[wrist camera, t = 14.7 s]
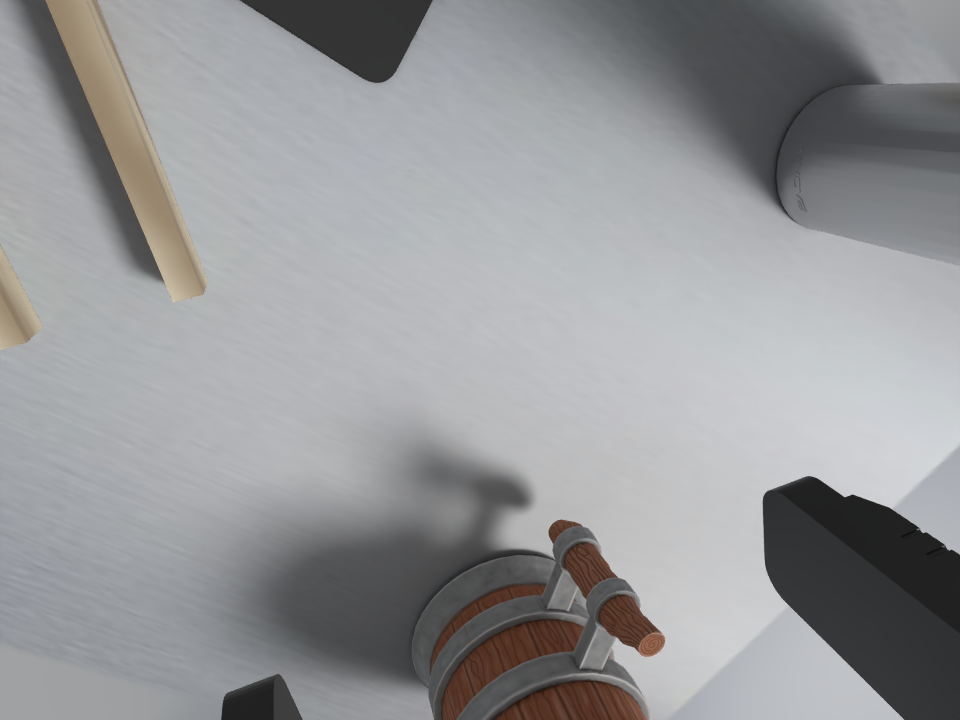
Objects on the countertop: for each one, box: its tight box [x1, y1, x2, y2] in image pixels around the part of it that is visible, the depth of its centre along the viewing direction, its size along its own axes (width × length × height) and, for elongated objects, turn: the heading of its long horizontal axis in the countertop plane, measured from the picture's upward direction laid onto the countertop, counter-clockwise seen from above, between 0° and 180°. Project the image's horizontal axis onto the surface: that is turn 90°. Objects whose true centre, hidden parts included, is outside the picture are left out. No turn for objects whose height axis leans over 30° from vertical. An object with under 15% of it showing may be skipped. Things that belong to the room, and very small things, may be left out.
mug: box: [412, 520, 665, 720], centre depth 43 cm, size 14×19×15 cm
